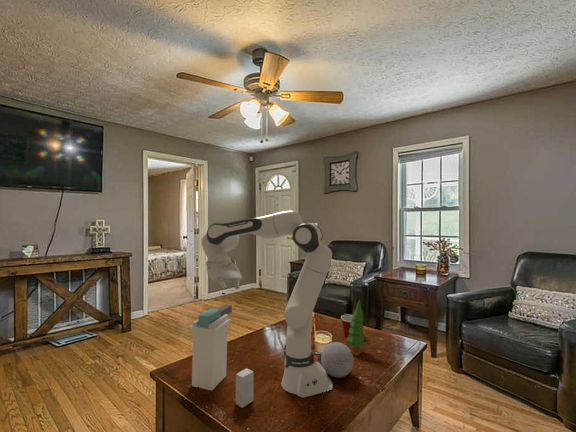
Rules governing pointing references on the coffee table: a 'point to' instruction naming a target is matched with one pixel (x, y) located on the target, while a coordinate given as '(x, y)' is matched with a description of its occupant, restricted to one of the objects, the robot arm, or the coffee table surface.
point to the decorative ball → (337, 359)
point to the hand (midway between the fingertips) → (231, 288)
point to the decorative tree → (356, 330)
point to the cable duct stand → (209, 353)
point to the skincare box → (244, 387)
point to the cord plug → (213, 315)
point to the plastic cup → (346, 323)
